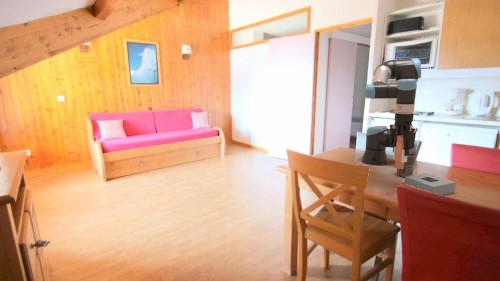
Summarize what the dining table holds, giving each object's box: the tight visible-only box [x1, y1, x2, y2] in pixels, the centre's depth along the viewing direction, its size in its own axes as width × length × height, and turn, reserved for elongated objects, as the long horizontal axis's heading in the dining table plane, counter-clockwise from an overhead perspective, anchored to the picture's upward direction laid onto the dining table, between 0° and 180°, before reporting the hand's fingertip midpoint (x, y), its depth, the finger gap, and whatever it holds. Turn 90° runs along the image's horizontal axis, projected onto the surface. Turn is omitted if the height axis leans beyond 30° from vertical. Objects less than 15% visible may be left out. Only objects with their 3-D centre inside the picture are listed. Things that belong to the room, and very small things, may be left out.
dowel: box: [394, 135, 404, 170], centre depth 124 cm, size 4×4×16 cm
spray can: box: [395, 140, 418, 178], centre depth 139 cm, size 8×8×20 cm
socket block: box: [404, 172, 457, 196], centre depth 121 cm, size 14×14×5 cm
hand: (399, 160), depth 125 cm, fingers closed on dowel, 4 cm apart
